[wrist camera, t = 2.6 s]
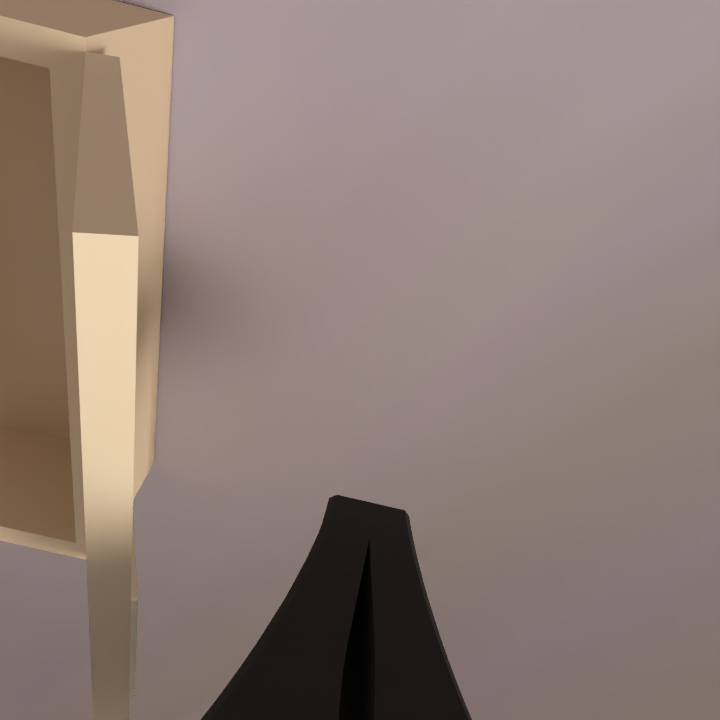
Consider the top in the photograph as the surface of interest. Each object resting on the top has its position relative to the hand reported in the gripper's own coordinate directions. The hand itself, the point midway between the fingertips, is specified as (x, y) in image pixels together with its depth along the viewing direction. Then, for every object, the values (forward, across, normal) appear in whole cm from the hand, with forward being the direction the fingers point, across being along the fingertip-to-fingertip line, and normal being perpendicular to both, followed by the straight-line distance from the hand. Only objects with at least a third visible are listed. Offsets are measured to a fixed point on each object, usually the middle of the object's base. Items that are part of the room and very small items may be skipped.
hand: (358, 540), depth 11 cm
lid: (0, +5, 0) cm, 5 cm away
